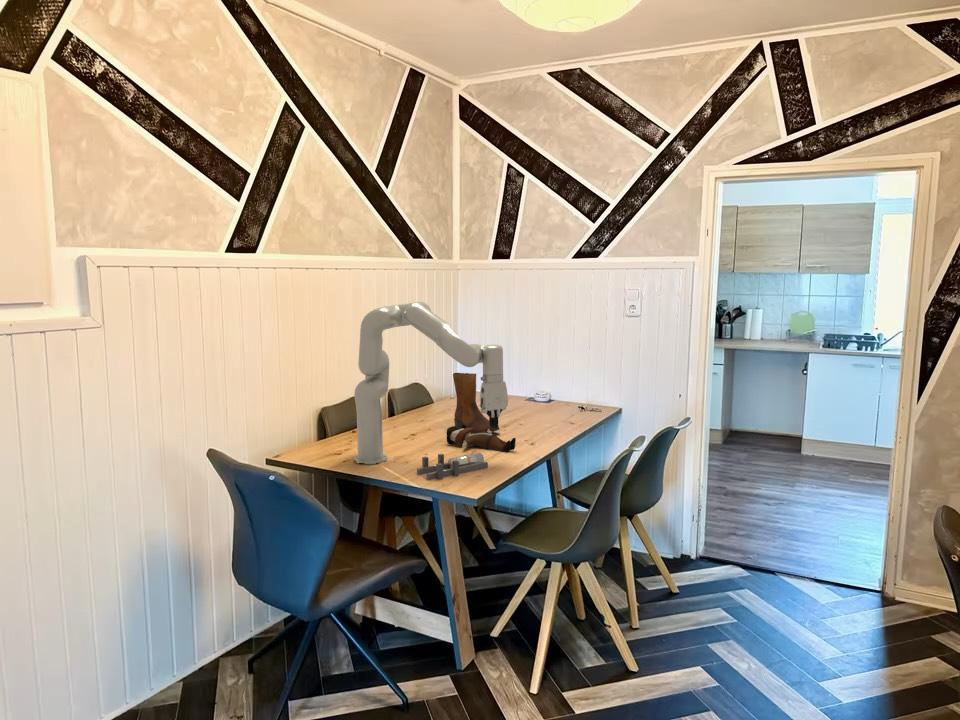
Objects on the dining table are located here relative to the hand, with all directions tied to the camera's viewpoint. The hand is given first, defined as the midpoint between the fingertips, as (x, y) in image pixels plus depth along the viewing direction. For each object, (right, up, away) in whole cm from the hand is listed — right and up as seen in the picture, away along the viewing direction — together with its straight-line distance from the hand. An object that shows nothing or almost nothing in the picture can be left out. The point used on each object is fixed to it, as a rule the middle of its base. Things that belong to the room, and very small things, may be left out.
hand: (493, 427), depth 235 cm
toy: (-5, -12, +25) cm, 29 cm away
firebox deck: (-15, -16, -8) cm, 23 cm away
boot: (-7, -8, +54) cm, 55 cm away
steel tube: (-10, -14, -4) cm, 18 cm away
